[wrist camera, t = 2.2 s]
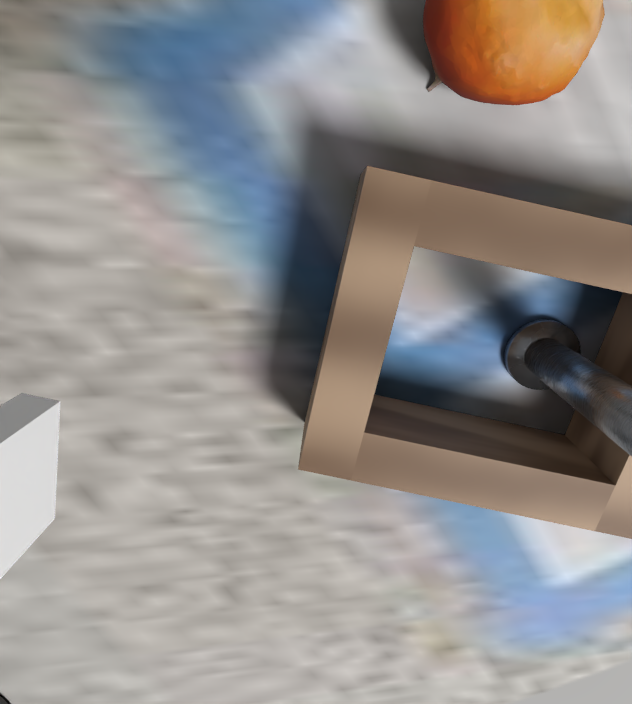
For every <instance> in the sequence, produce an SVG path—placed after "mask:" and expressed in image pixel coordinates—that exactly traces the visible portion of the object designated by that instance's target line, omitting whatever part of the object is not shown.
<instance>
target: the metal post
mask: <svg viewBox="0 0 632 704" xmlns="http://www.w3.org/2000/svg"><path fill="white" fill-rule="evenodd" d="M580 353H581V350H580V344H579V341H578V338H577V337H576V335H575V334H574V332H573V331H572V330H571V329H569V328H568V327H566V326H565V325H563V324H561V323H559V322H556V321H553V320H545V319H542V320H536V321H532V322H529V323H527V324H525V325H523V326H522V327H520V328H519V329H518V330H517V331H516V332H515V333H514V334H513V335H512V336H511V338H510V339H509V341H508V343H507V345H506V348H505V354H504V360H505V365H506V368H507V370H508V372H509V373H510V375H511V376H512V377H513V378H514V379H515V380H516V381H517V382H518V383H520V384H521V385H523V386H525V387H527V388H531V389H536V390H542V389H549V388H551V389H552V390H553V391H554V392H556V393H557V394H558V395H559V396H560V397H562V398H563V399H564V400H565V401H566V402H567V403H569V404H570V405H571V406H572V407H573V408H575V409H576V410H577V411H578V412H579V413H581V414H582V415H583V416H584V417H585V418H586V419H588V420H589V421H590V422H591V423H592V424H594V425H595V426H596V427H597V428H598V429H600V430H601V431H602V432H603V433H604V434H605V435H607V436H608V437H609V438H610V439H611V440H613V441H614V442H615V443H616V444H617V445H619V446H620V447H621V448H622V449H623V450H624V451H626V452H627V453H628V454H629V455H630V456H632V386H631V385H629V384H628V383H626V382H624V381H623V380H621V379H619V378H618V377H616V376H614V375H613V374H611V373H609V372H608V371H606V370H604V369H603V368H601V367H599V366H598V365H596V364H595V363H593V362H591V361H590V360H588V359H586V358H585V357H583V356H581V355H580Z"/></svg>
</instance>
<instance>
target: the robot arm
mask: <svg viewBox="0 0 632 704" xmlns="http://www.w3.org/2000/svg"><path fill="white" fill-rule="evenodd" d="M59 420H60V401H58V400H53V399H48V398H43V397H38V396H33V395H28V394H24V393H21V394H19V395H17V396H16V397H14V398H12V399H11V400H9V401H7V402H6V403H4V404H2V405H1V406H0V579H1V578H2V577H3V575H4V574H5V573H6V572H7V571H8V570H9V569H10V568H11V567H12V565H13V564H14V563H15V562H16V561H17V560H18V559H19V558H20V557H21V556H22V554H23V553H24V552H25V551H26V550H27V549H28V548H29V547H30V546H31V544H32V543H33V542H34V541H35V540H36V539H37V538H38V537H39V536H40V534H41V533H42V532H43V531H44V530H45V529H46V528H47V527H48V526H49V524H50V523H51V522H52V521H53V520H54V519H55V506H56V485H57V463H58V442H59ZM0 704H8V703H7V702H6V701H5V700H4V699H3V698H2V697H1V696H0Z"/></svg>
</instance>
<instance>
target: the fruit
mask: <svg viewBox="0 0 632 704" xmlns="http://www.w3.org/2000/svg"><path fill="white" fill-rule="evenodd" d="M604 15H605V14H604V7H603V0H426V2H425V7H424V14H423V28H424V37H425V41H426V44H427V47H428V50H429V53H430V55H431V59H432V66H433V69H434V71H435V81H434V82H433V83H432V84H431V85H430V86H429V87H428V88H427V90H429V91H431V90H432V89H433V88H435V87H436V86H437V85H439V84H440V83H441V82H443V83H444V84H445V85H447V86H448V87H449V88H450V89H452V90H453V91H454V92H456V93H457V94H459V95H460V96H462V97H464V98H467V99H471V100H474V101H478V102H483V103H491V104H503V105H521V104H529V103H534V102H539V101H542V100H545V99H547V98H549V97H550V96H551V95H553V94H556V93H558V92H561V91H562V90H563V89H565V88H566V86H567V85H568V84H569V82H570V81H571V80H572V78H573V77H574V76H575V75H576V73H577V72H578V70H579V68H580V67H581V65H582V63H583V61H584V60H585V59H586V57H587V56H588V53H589V51H590V48H591V47H592V45H593V43H594V42H595V40H596V38H597V36H598V33H599V31H600V28H601V25H602V21H603V18H604ZM429 91H428V92H429Z"/></svg>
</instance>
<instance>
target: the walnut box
mask: <svg viewBox="0 0 632 704" xmlns="http://www.w3.org/2000/svg"><path fill="white" fill-rule="evenodd" d="M414 246H417V247H421V248H426V249H430V250H435V251H439V252H444V253H448V254H453V255H457V256H462V257H466V258H471V259H475V260H480V261H485V262H489V263H494V264H498V265H503V266H507V267H512V268H516V269H521V270H525V271H530V272H534V273H539V274H543V275H548V276H552V277H557V278H561V279H566V280H570V281H575V282H579V283H584V284H588V285H593V286H597V287H602V288H606V289H611V290H616V291H620V292H623V293H622V296H621V298H620V301H619V303H618V306H617V308H616V311H615V313H614V316H613V318H612V320H611V323H610V325H609V328H608V330H607V333H606V335H605V338H604V340H603V343H602V345H601V348H600V350H599V352H598V355H597V357H596V360H595V362H594V363H595V364H596V365H598V366H599V367H601V368H603V369H604V370H606V371H608V372H609V373H611V374H613V375H614V376H616V377H618V378H619V379H621V380H623V381H624V382H626V383H628V384H629V385H631V386H632V225H628V224H624V223H619V222H615V221H611V220H606V219H602V218H597V217H593V216H588V215H584V214H579V213H575V212H571V211H566V210H562V209H557V208H553V207H548V206H544V205H539V204H535V203H531V202H526V201H522V200H517V199H513V198H508V197H504V196H499V195H495V194H491V193H486V192H482V191H477V190H473V189H468V188H464V187H460V186H455V185H451V184H446V183H442V182H437V181H433V180H428V179H424V178H420V177H415V176H411V175H406V174H402V173H397V172H393V171H388V170H384V169H380V168H375V167H371V166H367V167H366V168H365V170H364V171H363V172H362V173H361V175H360V180H359V184H358V188H357V193H356V197H355V202H354V206H353V211H352V215H351V220H350V224H349V228H348V233H347V237H346V242H345V246H344V251H343V255H342V259H341V264H340V268H339V273H338V277H337V282H336V286H335V290H334V295H333V299H332V304H331V308H330V313H329V317H328V321H327V326H326V330H325V335H324V339H323V344H322V348H321V353H320V357H319V361H318V366H317V370H316V375H315V379H314V384H313V388H312V392H311V397H310V401H309V406H308V410H307V415H306V419H305V424H304V431H303V438H302V445H301V453H300V460H299V467H298V469H299V470H304V471H309V472H313V473H318V474H323V475H328V476H333V477H337V478H342V479H347V480H352V481H357V482H361V483H366V484H371V485H376V486H381V487H385V488H390V489H395V490H400V491H405V492H410V493H414V494H419V495H424V496H429V497H434V498H438V499H443V500H448V501H453V502H458V503H462V504H467V505H472V506H477V507H482V508H486V509H491V510H496V511H501V512H506V513H510V514H515V515H520V516H525V517H530V518H534V519H539V520H544V521H549V522H554V523H558V524H563V525H568V526H573V527H578V528H582V529H587V530H592V531H597V532H602V533H607V534H611V535H616V536H621V537H626V538H631V539H632V456H630V455H629V454H628V453H627V452H626V451H624V450H623V449H622V448H621V447H620V446H619V445H617V444H616V443H615V442H614V441H613V440H611V439H610V438H609V437H608V436H607V435H605V434H604V433H603V432H602V431H601V430H600V429H598V428H597V427H596V426H595V425H594V424H592V423H591V422H590V421H589V420H588V419H586V418H585V417H584V416H583V415H582V414H581V413H579V412H578V411H577V410H576V409H575V411H574V414H573V416H572V419H571V421H570V424H569V426H568V429H567V431H566V434H565V435H563V434H558V433H553V432H548V431H544V430H539V429H534V428H530V427H525V426H520V425H516V424H511V423H506V422H501V421H497V420H492V419H487V418H483V417H478V416H473V415H469V414H464V413H459V412H455V411H450V410H445V409H440V408H436V407H431V406H426V405H422V404H417V403H412V402H408V401H403V400H398V399H393V398H389V397H384V396H379V395H375V394H374V393H375V390H376V386H377V382H378V378H379V375H380V371H381V367H382V363H383V360H384V356H385V352H386V349H387V345H388V341H389V337H390V334H391V330H392V326H393V322H394V319H395V315H396V311H397V308H398V304H399V300H400V296H401V293H402V289H403V285H404V281H405V278H406V274H407V270H408V266H409V263H410V259H411V255H412V252H413V248H414Z"/></svg>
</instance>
